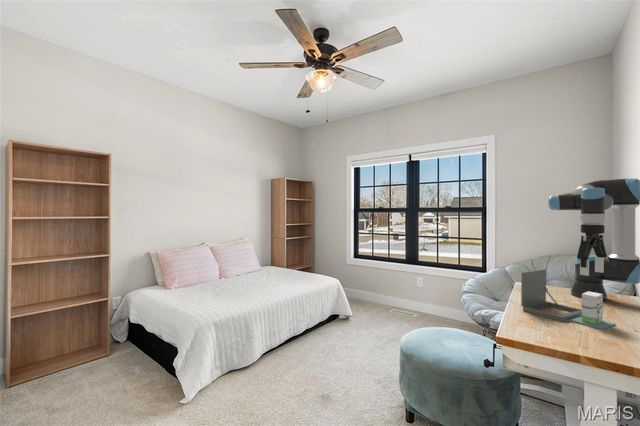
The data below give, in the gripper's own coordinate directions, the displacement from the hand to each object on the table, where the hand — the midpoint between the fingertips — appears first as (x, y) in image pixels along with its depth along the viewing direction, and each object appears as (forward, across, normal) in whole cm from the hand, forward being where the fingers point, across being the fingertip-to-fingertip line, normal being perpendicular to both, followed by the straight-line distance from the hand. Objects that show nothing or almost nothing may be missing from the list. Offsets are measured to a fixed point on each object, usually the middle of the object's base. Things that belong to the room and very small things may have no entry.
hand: (591, 273), depth 127 cm
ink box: (+20, +1, +1) cm, 20 cm away
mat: (+21, +2, +1) cm, 21 cm away
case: (+21, +1, -13) cm, 25 cm away
